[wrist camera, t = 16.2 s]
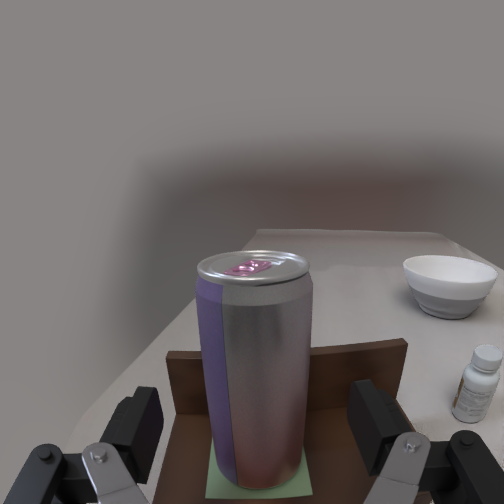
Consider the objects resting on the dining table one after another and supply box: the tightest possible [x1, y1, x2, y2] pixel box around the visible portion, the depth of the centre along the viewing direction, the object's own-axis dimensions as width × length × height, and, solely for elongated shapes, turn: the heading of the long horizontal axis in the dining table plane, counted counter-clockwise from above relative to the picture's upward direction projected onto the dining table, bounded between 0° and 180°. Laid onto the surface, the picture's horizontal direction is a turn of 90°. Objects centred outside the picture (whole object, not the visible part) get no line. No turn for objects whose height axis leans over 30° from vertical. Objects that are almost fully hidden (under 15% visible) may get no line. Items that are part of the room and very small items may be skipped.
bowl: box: [403, 255, 498, 319], centre depth 52 cm, size 20×20×8 cm
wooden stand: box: [152, 338, 432, 504], centre depth 20 cm, size 20×12×10 cm, turn 91°
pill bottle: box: [452, 344, 503, 423], centre depth 25 cm, size 4×4×8 cm
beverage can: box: [195, 250, 313, 489], centre depth 18 cm, size 6×6×15 cm
